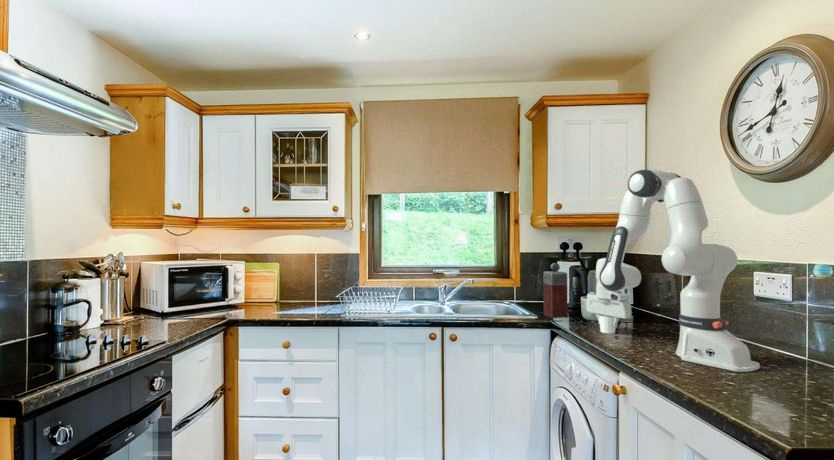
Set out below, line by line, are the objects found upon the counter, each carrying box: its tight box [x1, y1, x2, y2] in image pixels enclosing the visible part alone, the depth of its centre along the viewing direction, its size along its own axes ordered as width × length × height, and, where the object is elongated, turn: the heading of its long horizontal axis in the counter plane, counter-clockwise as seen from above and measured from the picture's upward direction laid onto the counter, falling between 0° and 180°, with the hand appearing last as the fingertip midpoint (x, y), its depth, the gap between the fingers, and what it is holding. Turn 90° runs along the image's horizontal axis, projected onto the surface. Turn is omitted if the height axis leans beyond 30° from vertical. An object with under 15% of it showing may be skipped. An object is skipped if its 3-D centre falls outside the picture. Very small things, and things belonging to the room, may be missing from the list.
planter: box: [580, 295, 599, 322], centre depth 198 cm, size 12×12×11 cm
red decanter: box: [543, 262, 568, 319], centre depth 208 cm, size 9×11×28 cm
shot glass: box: [598, 315, 616, 334], centre depth 170 cm, size 7×7×7 cm
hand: (607, 325), depth 170 cm, fingers closed on shot glass, 5 cm apart
